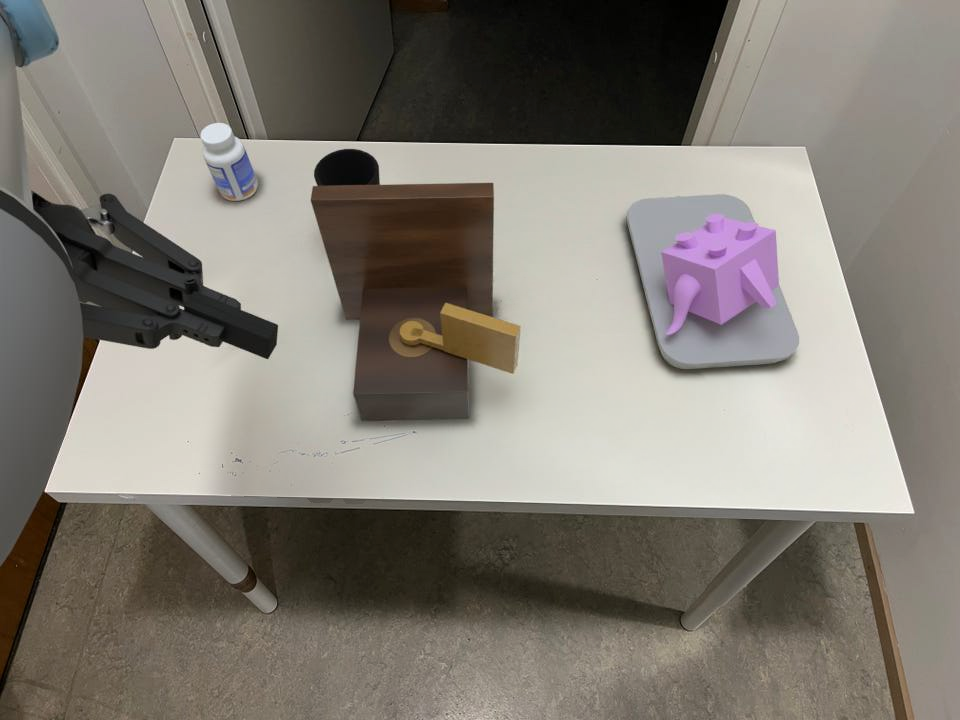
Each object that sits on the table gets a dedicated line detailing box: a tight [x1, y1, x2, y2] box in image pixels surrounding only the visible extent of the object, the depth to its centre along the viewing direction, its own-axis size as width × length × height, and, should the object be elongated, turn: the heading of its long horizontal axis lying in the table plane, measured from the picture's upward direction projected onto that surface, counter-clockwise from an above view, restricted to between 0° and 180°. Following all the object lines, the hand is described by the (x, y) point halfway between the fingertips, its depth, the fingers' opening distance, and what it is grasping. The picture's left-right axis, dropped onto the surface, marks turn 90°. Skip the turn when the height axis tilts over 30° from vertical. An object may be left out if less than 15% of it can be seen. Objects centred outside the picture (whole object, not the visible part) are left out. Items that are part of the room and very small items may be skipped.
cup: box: [313, 148, 381, 186], centre depth 86 cm, size 8×8×12 cm
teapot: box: [661, 214, 780, 335], centre depth 77 cm, size 18×13×10 cm
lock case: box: [310, 182, 495, 422], centre depth 72 cm, size 16×18×20 cm
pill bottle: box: [200, 122, 259, 202], centre depth 92 cm, size 5×5×10 cm
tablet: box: [626, 193, 800, 370], centre depth 85 cm, size 16×26×2 cm, turn 4°
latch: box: [400, 303, 521, 375], centre depth 71 cm, size 13×3×7 cm, turn 69°
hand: (272, 342), depth 51 cm, fingers closed
